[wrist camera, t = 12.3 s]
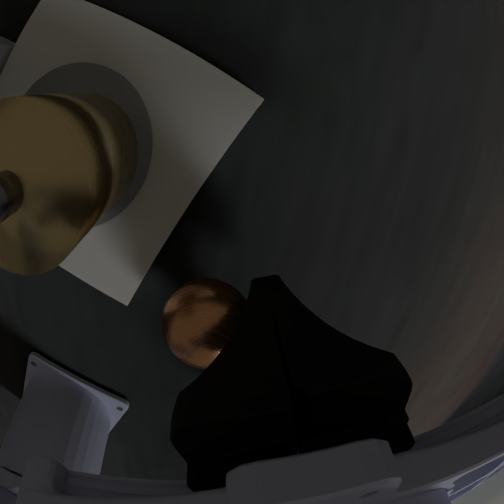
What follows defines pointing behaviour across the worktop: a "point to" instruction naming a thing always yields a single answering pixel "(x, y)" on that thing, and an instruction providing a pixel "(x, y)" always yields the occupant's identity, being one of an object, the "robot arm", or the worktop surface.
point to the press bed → (143, 120)
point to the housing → (59, 174)
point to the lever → (201, 320)
